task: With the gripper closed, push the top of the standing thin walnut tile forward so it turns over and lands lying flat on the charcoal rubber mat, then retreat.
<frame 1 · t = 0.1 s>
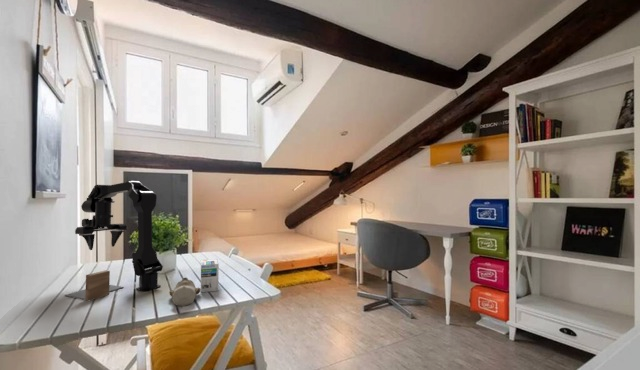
hand: (102, 248, 128), 15 cm above the table, fingers open, 9 cm apart
ceramic sculpture: (184, 301, 104), on the table
light bulb box: (209, 288, 119), on the table
walnut tile: (97, 297, 108), on the table
mat: (95, 291, 114), on the table
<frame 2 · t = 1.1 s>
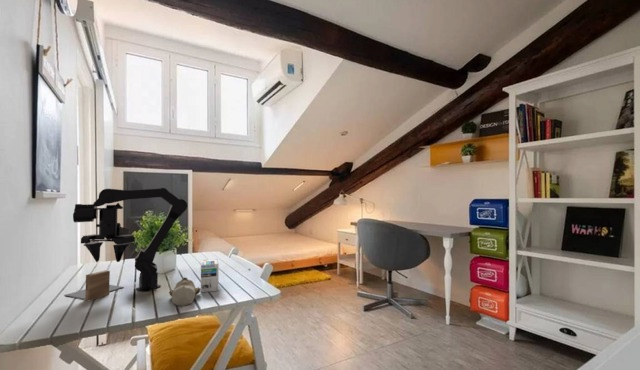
hand: (107, 261, 112), 12 cm above the table, fingers open, 9 cm apart
nothing on the table moved.
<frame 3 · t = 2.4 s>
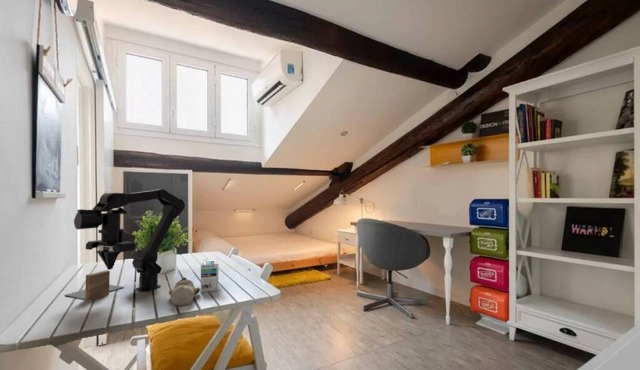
hand: (110, 269, 106), 11 cm above the table, fingers closed
nothing on the table moved.
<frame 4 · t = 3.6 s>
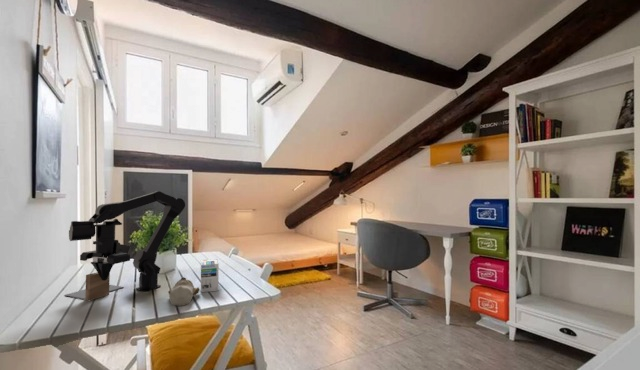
hand: (104, 280, 107), 7 cm above the table, fingers closed
nothing on the table moved.
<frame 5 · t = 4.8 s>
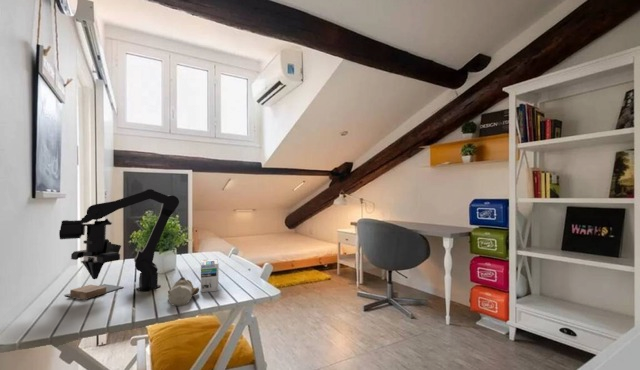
hand: (95, 278, 109), 7 cm above the table, fingers closed
walnut tile: (96, 292, 108), point 1 cm above the table, tilted 90°, touching mat
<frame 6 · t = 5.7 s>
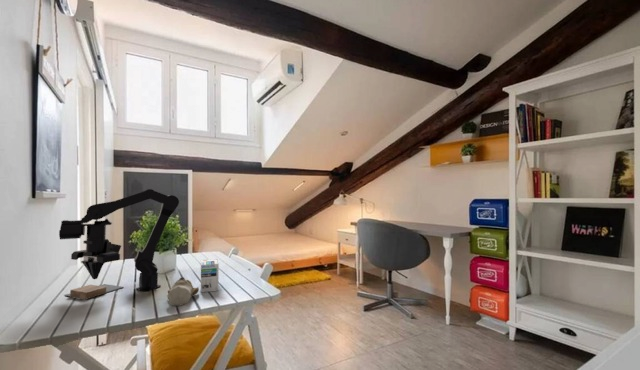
hand: (95, 278, 109), 6 cm above the table, fingers closed
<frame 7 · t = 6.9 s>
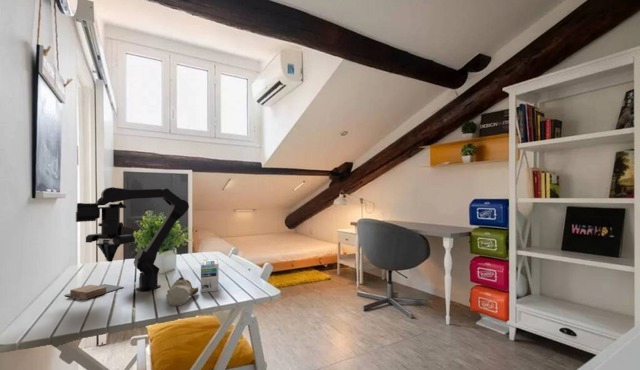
hand: (110, 261, 110), 13 cm above the table, fingers closed
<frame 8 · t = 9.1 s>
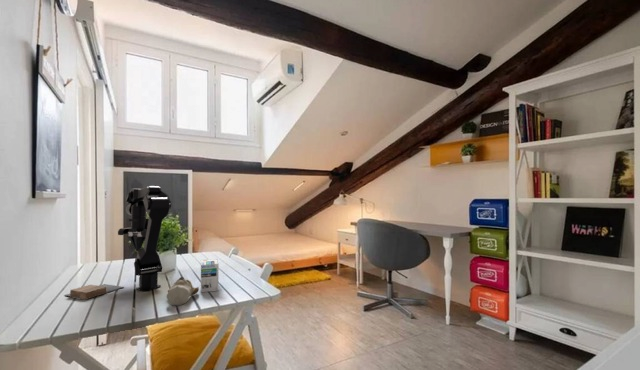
hand: (138, 251, 129), 13 cm above the table, fingers closed
at the end: walnut tile tilted 90°; walnut tile inside the target area (6.6 cm from its centre), point 1.5 cm above the table; the gripper is holding nothing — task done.
